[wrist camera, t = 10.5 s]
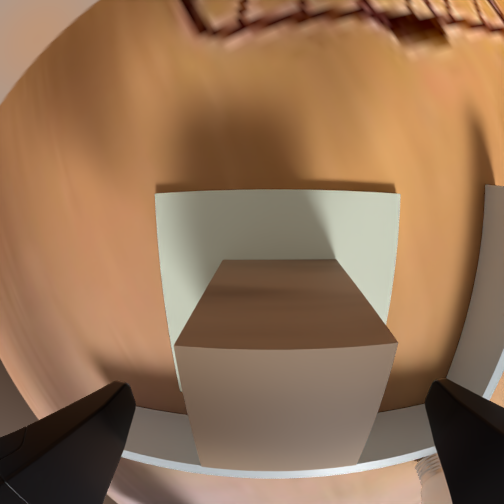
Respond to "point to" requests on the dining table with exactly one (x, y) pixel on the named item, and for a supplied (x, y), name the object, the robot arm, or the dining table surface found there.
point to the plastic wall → (386, 423)
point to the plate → (273, 239)
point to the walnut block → (283, 366)
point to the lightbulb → (432, 481)
